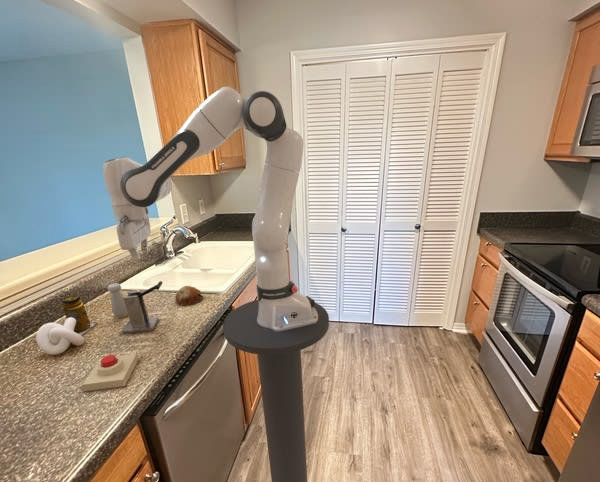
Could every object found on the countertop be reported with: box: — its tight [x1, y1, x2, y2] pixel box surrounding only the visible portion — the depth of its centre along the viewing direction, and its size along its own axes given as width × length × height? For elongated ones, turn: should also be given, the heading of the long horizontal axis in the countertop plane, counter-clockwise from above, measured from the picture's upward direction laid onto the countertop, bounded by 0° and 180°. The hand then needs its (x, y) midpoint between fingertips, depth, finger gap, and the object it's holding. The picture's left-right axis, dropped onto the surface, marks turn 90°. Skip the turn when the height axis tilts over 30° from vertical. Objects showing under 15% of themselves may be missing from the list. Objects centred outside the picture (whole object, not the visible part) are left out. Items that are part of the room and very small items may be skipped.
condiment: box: [61, 295, 97, 336], centre depth 113 cm, size 7×8×12 cm
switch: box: [132, 280, 163, 300], centre depth 111 cm, size 12×5×2 cm, turn 99°
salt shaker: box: [106, 282, 129, 319], centre depth 121 cm, size 6×6×13 cm
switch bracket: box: [121, 290, 159, 335], centre depth 113 cm, size 10×8×13 cm
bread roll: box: [175, 285, 204, 306], centre depth 133 cm, size 10×10×8 cm
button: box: [100, 354, 117, 368], centre depth 89 cm, size 4×4×2 cm
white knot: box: [35, 317, 85, 356], centre depth 103 cm, size 11×12×9 cm
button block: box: [81, 353, 139, 392], centre depth 90 cm, size 10×12×4 cm
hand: (141, 255), depth 107 cm, fingers open, 8 cm apart
